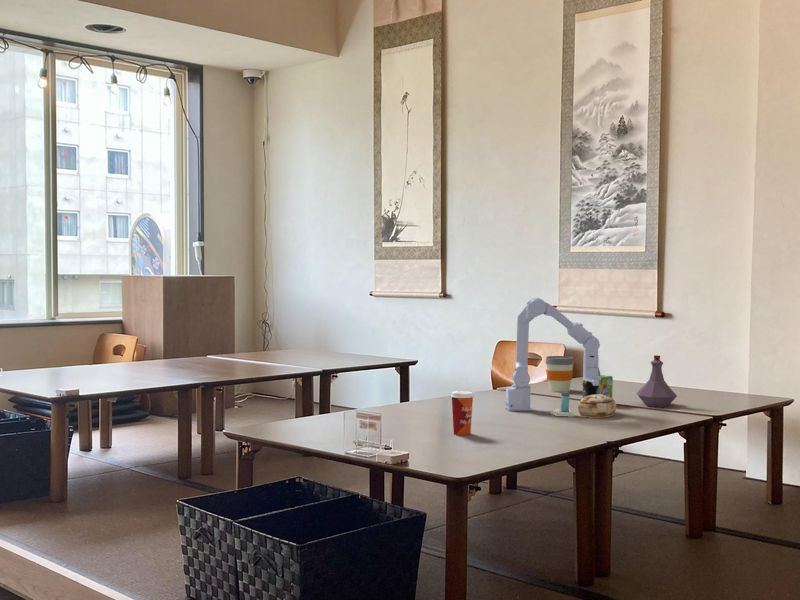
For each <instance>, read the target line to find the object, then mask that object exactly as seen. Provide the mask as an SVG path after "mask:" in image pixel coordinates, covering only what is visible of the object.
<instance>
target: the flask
mask: <svg viewBox="0 0 800 600" xmlns="http://www.w3.org/2000/svg"><path fill="white" fill-rule="evenodd" d="M650 364H651V371H650V372H651V373H650V375H649V379H648V380H647V382H646V383H645V384H644V385H643V386H642V387H641V388H640V389H639V390H638V391H637V392H636V393H635V394H636V395H637V396H638V398H639V399H640V400H641V402H642V403H643V404H644V405H645V406H646V405H648V406H647V407H652V406H665V407H668V406H670V405H671V404H672V402H673V401H674V400H676V398H677V397H678V395H677V394H676V393H675V392H674V390H672V388H670V386H669V384H668V383H667V382H666V380H665V378H664V374H663V370H662V369H663V368H662V367H663V365H664V362H663V361H662V360H661V355H656V354H655V355H653V360H651V361H650Z"/></svg>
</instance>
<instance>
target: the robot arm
mask: <svg viewBox="0 0 800 600" xmlns="http://www.w3.org/2000/svg"><path fill="white" fill-rule="evenodd" d="M541 315H544V316H548V317H551V318H553V319H554V320H555V321H557V322H558V323H560V324H561V325H562V326H563V327H564V328H566V329H567V331H566V332H567V334H568V335H569V336H570V337H571V338H573V339H574V340H575V341H576V342H577V343H579V345H582V346H583V348H584V349H583V359H582V361H583V362H582V363H583V364H582V365H583V369H582V370H583V371H582V372H583V373H582V388H583V387H584V389H585V392H586V396H588V395H595V394H596V391H597V389H598V387H599V380H601V378H598V368H599V363H600V362H599V359H600V358H599V349H600V347H601V344H600V340H599V339H598V338H597V337H595V335H593V332H592V331H588V330H587V329H586V328H585V327H584V324H582V323H579V322H572V321H571V320H570V319H569V318H567V316H565V315H564V314H563V313H562V312H561V311H559V310H558V308H556V307H555V306H553V305H551V304H550V303H548V302H546V301H545V300H543V299H541V298H539V297H534V298H532V299H530V300H529V301H527V302H526V304H525V305H524V307H523V308H522V309H521V311H520V312H519V313H518V314H517V322H516V343H515V344H516V345H515V346H516V348H515V349H516V350H515V351H516V352H515V365H514V366H515V369H514V371H513V373H512V380H513V383H512V384H511V386H507V387H505V406H504V407H505V409H506V410H507V411H509V412H512V411H513V412H515V411H516V412H517V411H525V412H526V411H531V412H533V410H534V409H533V408H532V407H531V385H530V382H531V378H530V374H529V367H528V366H529V363H528V362H529V361H528V360H529V359H528V358H529V337H530V336H529V335H530V334H529V333H530V332H529V331H530V322H531V321H533V320H534V319H535V318H537V317H538V316H541ZM583 381H587V383H583Z"/></svg>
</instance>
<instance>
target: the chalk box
mask: <svg viewBox="0 0 800 600" xmlns="http://www.w3.org/2000/svg"><path fill="white" fill-rule="evenodd" d="M598 378H601V380H599V387H598V389H597V391H596V394H601V395H606V396H609V397H611V398H612V399H613V382H614V380H613V378H614V377H613V376H612V375H604V374H601V372H600V367H598ZM583 383H587V381H583V380H582V384H583ZM596 394H595V395H596ZM584 397H586V392H585V389H584V387H583V386H582V399H583V398H584Z"/></svg>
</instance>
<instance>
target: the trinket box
mask: <svg viewBox="0 0 800 600" xmlns="http://www.w3.org/2000/svg"><path fill="white" fill-rule="evenodd" d="M616 409H617V402H616V401H615V399H614V398H613V397H612V398H611V397H609V396H606V395H601V394H596V395H588V396H586V397H584V398H583V397H582V399H580V401H579V402H578V405H577V411H578V413H579V416H580V417H581V416H582V417H581V418H586V417H589V418H588V419H601V418H608V417H612V416H614V415H615V412H616Z"/></svg>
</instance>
